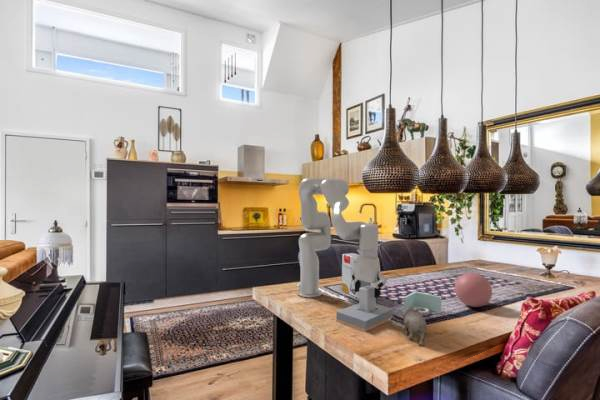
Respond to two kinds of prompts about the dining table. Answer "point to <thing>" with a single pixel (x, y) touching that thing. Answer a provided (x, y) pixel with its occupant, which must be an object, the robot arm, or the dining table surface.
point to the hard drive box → (347, 279)
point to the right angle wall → (423, 302)
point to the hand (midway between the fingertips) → (367, 294)
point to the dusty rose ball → (473, 289)
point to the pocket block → (363, 317)
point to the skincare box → (367, 299)
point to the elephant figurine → (414, 324)
